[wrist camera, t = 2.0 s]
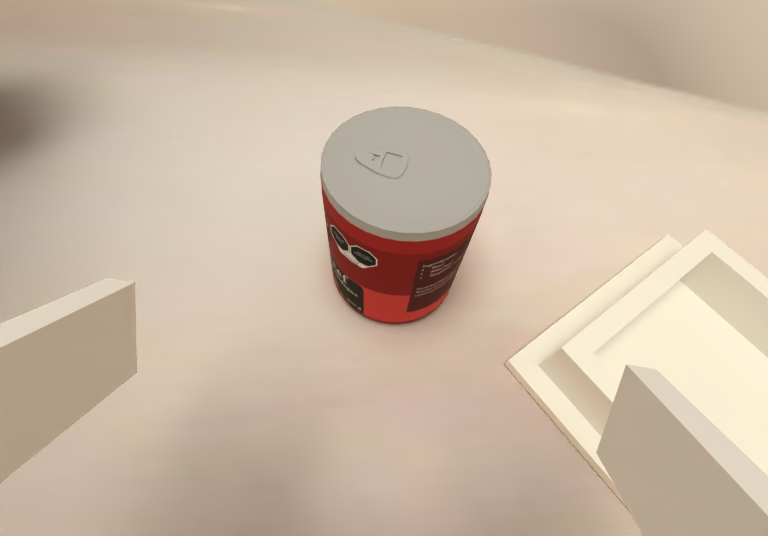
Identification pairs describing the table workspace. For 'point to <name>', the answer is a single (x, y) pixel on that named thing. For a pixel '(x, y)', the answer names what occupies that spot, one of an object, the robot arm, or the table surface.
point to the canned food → (400, 208)
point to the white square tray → (660, 345)
